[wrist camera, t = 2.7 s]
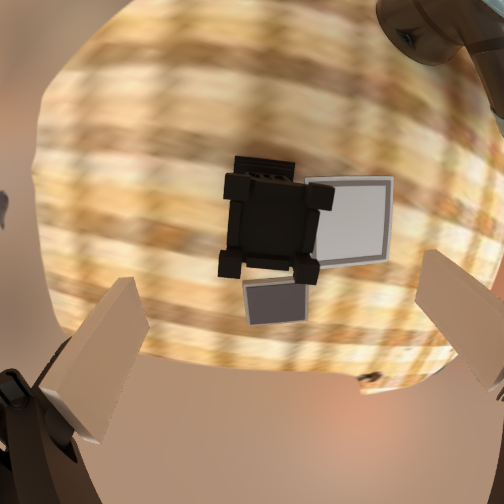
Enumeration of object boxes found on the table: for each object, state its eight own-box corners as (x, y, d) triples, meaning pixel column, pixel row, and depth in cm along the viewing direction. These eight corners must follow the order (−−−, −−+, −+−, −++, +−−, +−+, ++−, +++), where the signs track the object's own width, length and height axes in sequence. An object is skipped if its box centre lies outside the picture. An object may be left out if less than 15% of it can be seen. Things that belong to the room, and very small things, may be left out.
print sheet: (304, 177, 36) (305, 178, 36) (392, 176, 36) (394, 176, 35) (306, 269, 41) (307, 270, 41) (387, 260, 41) (388, 262, 41)
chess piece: (229, 212, 38) (211, 281, 19) (235, 155, 35) (219, 167, 16) (286, 218, 38) (319, 290, 20) (294, 162, 35) (342, 183, 17)
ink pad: (242, 280, 42) (242, 285, 41) (306, 275, 42) (308, 279, 40) (247, 322, 45) (247, 327, 44) (306, 316, 45) (307, 321, 43)
